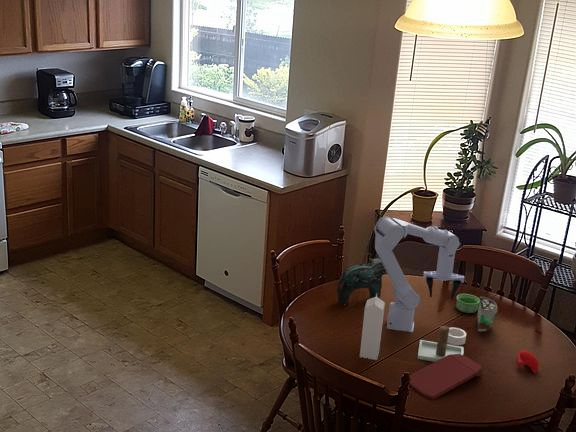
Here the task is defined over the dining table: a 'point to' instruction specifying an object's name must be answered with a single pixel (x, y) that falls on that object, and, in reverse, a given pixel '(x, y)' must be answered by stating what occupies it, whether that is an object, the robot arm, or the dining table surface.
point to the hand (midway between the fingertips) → (441, 297)
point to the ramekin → (467, 303)
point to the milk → (372, 328)
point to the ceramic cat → (361, 279)
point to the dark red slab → (444, 375)
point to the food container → (486, 314)
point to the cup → (456, 336)
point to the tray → (429, 351)
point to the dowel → (442, 341)
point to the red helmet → (527, 360)
